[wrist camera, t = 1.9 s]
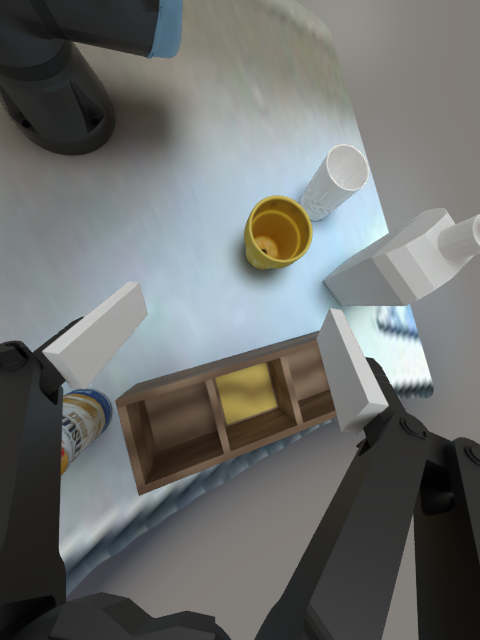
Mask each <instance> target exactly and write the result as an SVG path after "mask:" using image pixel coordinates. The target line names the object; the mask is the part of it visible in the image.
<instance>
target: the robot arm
mask: <svg viewBox="0 0 480 640" xmlns="http://www.w3.org/2000/svg"><path fill="white" fill-rule="evenodd" d="M182 4H183V0H0V101H1V103H2V105H3V107H4V109H5V110H6V112H7V113H8V115H9V116H10V118H11V119H12V120H13V121H14V122H15V123H16V125H17V126H18V127H19V128H20V129H21V130H22V131H23V132H24V134H25V135H26V136H27V137H28V138H30V139H31V140H32V141H33V142H35V143H36V144H38V145H39V146H41V147H43V148H45V149H48V150H50V151H53V152H57V153H61V154H71V155H74V154H83V153H87V152H91V151H93V150H95V149H97V148H99V147H100V146H102V145H103V144H104V143H105V142H106V141H107V140H108V139H109V137H110V135H111V134H112V131H113V128H114V123H115V116H114V110H113V107H112V104H111V102H110V99H109V97H108V94H107V92H106V90H105V88H104V86H103V84H102V83H101V81H100V80H99V78H98V77H97V75H96V74H95V72H94V71H93V70H92V68H91V67H90V65H89V64H88V62H87V61H86V60H85V58H84V57H83V55H82V54H81V52H80V51H79V50H78V48H77V47H76V45H75V44H74V42H79V43H83V44H88V45H93V46H97V47H102V48H107V49H111V50H116V51H121V52H125V53H130V54H135V55H139V56H144V57H146V58H152V57H161V58H172V57H174V56H175V55H176V54H177V52H178V50H179V47H180V43H181V32H182ZM73 41H74V42H73ZM147 315H148V312H147V309H146V305H145V301H144V298H143V294H142V290H141V286H140V283H138V282H130V281H129V282H127V283H126V284H125V285H124V286H123V287H121V288H120V289H119V290H118V291H116V292H115V293H114V294H113V295H111V296H110V297H109V298H108V299H106V300H105V301H104V302H103V303H101V304H100V305H99V306H98V307H96V308H95V309H94V310H93V311H91V312H90V313H89V314H88V315H86V316H85V317H81V318H79V319H77V320H75V321H73V322H71V323H70V324H69V325H67V326H66V327H65V328H64V329H62V330H61V331H60V332H58V334H56V335H55V336H53V337H52V338H51V339H49V340H48V341H47V342H46V343H44V344H43V345H42V346H40V347H39V348H38V349H37V350H35V351H34V352H33V353H32V352H31V351H30V350H29V348H28V347H27V346H26V345H25V344H24V343H23V342H21V341H9V342H4V343H1V344H0V640H231V639H230V637H229V636H228V635H227V634H226V632H224V630H223V629H222V628H221V627H219V626H218V625H217V624H216V623H215V617H213V616H209V615H205V614H200V613H195V612H191V611H183V612H180V613H175V614H171V615H167V616H163V617H159V618H153V617H151V616H150V615H149V614H147V613H146V612H145V611H144V610H143V609H141V608H140V607H139V606H138V605H136V604H135V603H134V602H133V601H132V600H130V599H129V598H126V597H121V596H117V595H112V594H108V593H103V592H101V593H96V594H93V595H89V596H85V597H81V598H77V599H73V600H69V601H66V570H65V565H64V562H63V560H62V558H61V556H60V554H59V515H60V482H61V449H62V416H63V388H62V386H61V385H62V384H63V383H64V382H65V381H66V382H67V383H68V384H69V385H70V387H72V388H79V389H86V388H87V387H88V386H89V384H90V383H91V382H92V381H93V380H94V378H95V377H96V376H97V375H98V374H99V372H100V371H101V370H102V369H103V368H104V366H105V365H106V364H107V363H108V362H109V360H110V359H111V358H112V357H113V356H114V354H115V353H116V352H117V351H118V350H119V348H120V347H121V346H122V345H123V344H124V342H125V341H126V340H127V339H128V338H129V336H130V335H131V334H132V333H133V332H134V330H135V329H136V328H137V327H138V326H139V324H140V323H141V322H142V321H143V320H144V318H145V317H146V316H147ZM317 342H318V346H319V349H320V353H321V357H322V361H323V364H324V368H325V372H326V376H327V380H328V383H329V387H330V391H331V395H332V398H333V402H334V406H335V410H336V413H337V417H338V421H339V424H340V428H341V432H346V433H352V434H358V433H359V432H360V431H362V430H363V429H364V432H365V435H366V438H365V439H364V440H362V441H361V442H360V443H359V444H358V445H357V446H356V447H358V448H359V449H358V451H357V453H356V455H355V457H354V459H353V461H352V463H351V464H350V466H349V468H348V470H347V472H346V474H345V476H344V478H343V480H342V482H341V484H340V486H339V488H338V489H337V492H336V493H335V495H334V497H333V499H332V501H331V503H330V505H329V507H328V509H327V510H326V512H325V515H324V516H323V518H322V520H321V522H320V524H319V526H318V528H317V530H316V532H315V534H314V535H313V537H312V539H311V541H310V543H309V545H308V547H307V549H306V551H305V553H304V555H303V556H302V558H301V561H300V562H299V564H298V566H297V568H296V570H295V572H294V574H293V576H292V578H291V580H290V581H289V583H288V585H287V587H286V589H285V591H284V593H283V595H282V596H281V598H280V600H279V601H278V602H277V603H276V604H275V605H274V606H273V608H272V609H271V610H270V612H269V614H268V615H267V617H266V619H265V620H264V622H263V624H262V626H261V628H260V630H259V632H258V634H257V635H256V637H255V639H254V640H381V639H382V634H383V631H384V627H385V623H386V619H387V615H388V611H389V607H390V602H391V599H392V594H393V591H394V587H395V583H396V579H397V575H398V571H399V567H400V563H401V559H402V555H403V551H404V546H405V542H406V539H407V535H408V531H409V527H410V523H411V518H412V515H413V516H414V540H415V561H416V562H415V563H416V586H417V611H418V635H419V640H480V445H479V444H478V443H476V442H475V441H473V440H470V439H467V438H462V437H459V438H457V439H455V440H453V441H450V440H447V439H445V438H443V437H441V436H438V435H436V434H434V433H431V432H429V431H428V430H427V428H426V427H425V426H424V425H423V424H422V423H421V422H420V421H419V420H418V419H417V418H415V417H414V416H412V415H410V414H408V413H407V412H406V411H405V409H404V407H403V405H402V404H401V402H400V400H399V398H398V396H397V394H396V393H395V391H394V389H393V387H392V385H391V384H390V382H389V380H388V378H387V377H386V374H385V373H384V371H383V369H382V367H381V366H380V365H379V364H378V363H377V362H376V361H375V360H374V359H373V358H367V357H365V356H364V354H363V352H362V350H361V348H360V346H359V344H358V342H357V340H356V338H355V336H354V334H353V332H352V330H351V328H350V326H349V324H348V322H347V320H346V318H345V316H344V314H343V312H342V310H338V309H331V308H330V309H329V312H328V314H327V316H326V318H325V320H324V323H323V325H322V327H321V329H320V332H319V334H318V336H317Z"/></svg>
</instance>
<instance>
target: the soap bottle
mask: <svg viewBox="0 0 480 640" xmlns="http://www.w3.org/2000/svg"><path fill="white" fill-rule="evenodd" d="M476 254H480V214H479V215H477V216H474V217H472V218H470V219H467V220H465V221H463V222H460V223H458V224H456V225H455V223H454V222H453V220H452V219H451V217H450V215H449V214H448V212H447V211H446V210H445V209H443V208H436V209H431V210H427V211H424V212H422V213H420V214H419V215H417V216H416V217H414V218H412V219H411V220H409V221H408V222H406V223H404V224H403V225H401V226H400V227H398V228H397V229H395V230H393V231H392V232H390V233H389V234H387V235H385V236H384V237H382V238H381V239H379V240H377V241H376V242H374V243H373V244H371V245H369V246H368V247H366V248H365V249H363V250H361V251H360V252H358V253H357V254H355V255H353V256H352V257H350V258H349V259H348V260H346V261H345V262H344V263H343V264H342V265H340V266H339V267H338V268H337V269H336V270H335V271H333V272H332V273H331V274H330V275H329V276H328V277H326V278H325V279H324V280H323V282H324V283H325V284H326V286H327V287H328V289H329V290H330V291H331V293H332V294H333V295H334V297H335V298H336V299H337V301H338V302H339V303H340V305H341V306H406V305H408V304H410V303H413V302H415V301H417V300H419V299H421V298H422V297H424V296H425V295H427V294H429V293H431V292H432V291H434V290H435V289H437V288H438V287H440V286H441V285H443V284H444V283H446V282H447V281H448V280H450V279H451V278H453V277H454V276H455V275H456V274H457V273H458V271H459V270H460V269H461V268H462V267H463V266H464V265H465V264H466V263H467V262H468V261H469V260H470V259H471V258H472V257H473V256H474V255H476Z"/></svg>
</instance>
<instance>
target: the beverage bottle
mask: <svg viewBox="0 0 480 640" xmlns="http://www.w3.org/2000/svg"><path fill="white" fill-rule="evenodd" d="M111 413H112V410H111V405H110V402H109V401H108V399H107V398H106V397H105V396H104V395H103V394H102V393H100V392H98V391H96V390H93V389H79V390H75V391H72V392H70V393H68V394H66V395H64V396H63V416H62V449H61V475H62V474H63V473H64V472H65V471H66V470H67V468H68V467H69V465H70V463H71V462H72V461H73V460H74V459H75V458H76V457H77V456H78V455H79V454H80V453H81V452H82V451H83V450H84V449H85V448H86V447H87V446H88V445H89V444H90V443H91V442H92V441H93V440H94V439H96V438H97V437H98V436H99V435H100V434H101V433H102V432H103V431H104V430H105V429H106V427H107V426H108V424H109V422H110V419H111Z"/></svg>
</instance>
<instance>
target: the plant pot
mask: <svg viewBox="0 0 480 640" xmlns="http://www.w3.org/2000/svg"><path fill="white" fill-rule="evenodd" d="M312 234H313V233H312V224H311V221H310V218H309V216H308V214H307V212H306V211H305V210H304V208H303V207H302V206H301V205H300V204H299V203H297V202H296V201H294V200H293V199H291V198H288V197H285V196H270V197H267V198H265V199H263V200H261V201H260V202H259V203H257V204H256V206H255V207H254V208H253V210H252V211H251V213H250V216H249V218H248V220H247V223H246V226H245V231H244V240H245V244H246V257H247V259H248V261H249V263H250V264H251V265H252V266H254V267H255V268H257V269H261V270H265V269H269V268H283V267H286V266H288V265H290V264H292V263H294V262H295V261H297V260H298V259H299V258H301V257H302V256H303V255H304V254H305V253H306V251H307V250H308V248H309V246H310V244H311V241H312ZM262 250H264V251H265V252H266V254H265V253H264V252H263V251H262Z"/></svg>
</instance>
